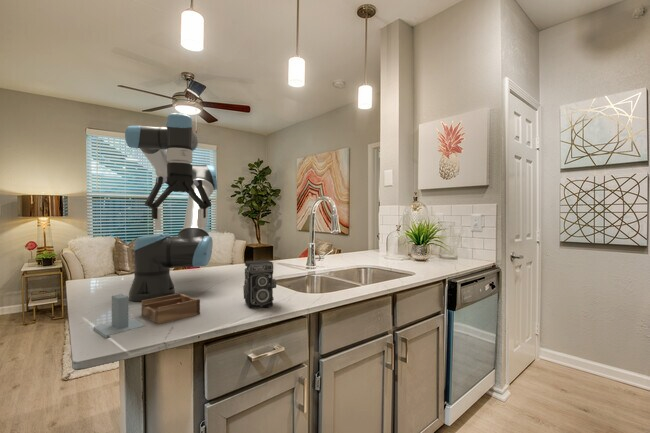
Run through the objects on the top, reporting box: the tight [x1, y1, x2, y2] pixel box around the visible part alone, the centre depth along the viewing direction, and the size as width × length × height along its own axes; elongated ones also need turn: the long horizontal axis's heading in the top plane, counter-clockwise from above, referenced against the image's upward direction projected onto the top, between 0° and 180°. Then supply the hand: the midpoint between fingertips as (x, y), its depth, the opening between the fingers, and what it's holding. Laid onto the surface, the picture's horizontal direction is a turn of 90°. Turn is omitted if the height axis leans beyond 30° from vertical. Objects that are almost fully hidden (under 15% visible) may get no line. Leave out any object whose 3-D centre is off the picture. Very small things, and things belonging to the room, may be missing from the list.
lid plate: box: [93, 293, 147, 339], centre depth 86 cm, size 10×9×9 cm
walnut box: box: [141, 292, 201, 325], centre depth 96 cm, size 12×12×5 cm
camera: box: [242, 259, 277, 309], centre depth 106 cm, size 10×10×15 cm
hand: (180, 228), depth 103 cm, fingers open, 13 cm apart
